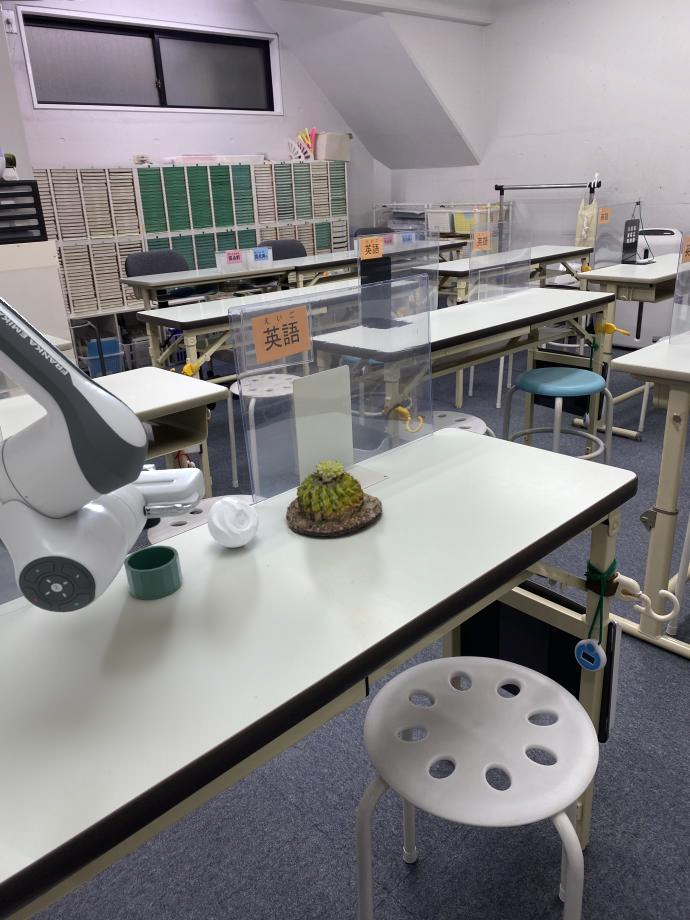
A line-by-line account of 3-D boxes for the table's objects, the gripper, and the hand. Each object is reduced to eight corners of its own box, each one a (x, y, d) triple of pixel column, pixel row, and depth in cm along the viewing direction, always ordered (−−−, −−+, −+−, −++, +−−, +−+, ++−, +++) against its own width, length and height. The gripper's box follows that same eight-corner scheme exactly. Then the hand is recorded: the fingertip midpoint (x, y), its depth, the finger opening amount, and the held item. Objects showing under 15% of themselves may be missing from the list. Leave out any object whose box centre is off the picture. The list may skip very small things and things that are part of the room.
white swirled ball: (231, 561, 104) (225, 515, 101) (200, 547, 108) (193, 503, 105) (269, 540, 109) (264, 496, 106) (238, 528, 114) (232, 485, 111)
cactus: (348, 547, 105) (344, 489, 102) (266, 527, 114) (260, 473, 110) (399, 503, 119) (398, 451, 115) (323, 488, 127) (319, 439, 123)
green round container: (123, 601, 95) (117, 573, 93) (137, 573, 102) (131, 547, 100) (176, 597, 95) (171, 569, 93) (186, 570, 102) (182, 543, 100)
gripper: (191, 484, 79) (210, 443, 91) (13, 496, 79) (57, 454, 91) (199, 533, 81) (216, 486, 94) (26, 545, 81) (67, 497, 94)
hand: (136, 470), depth 93 cm, fingers closed on chess piece, 2 cm apart
